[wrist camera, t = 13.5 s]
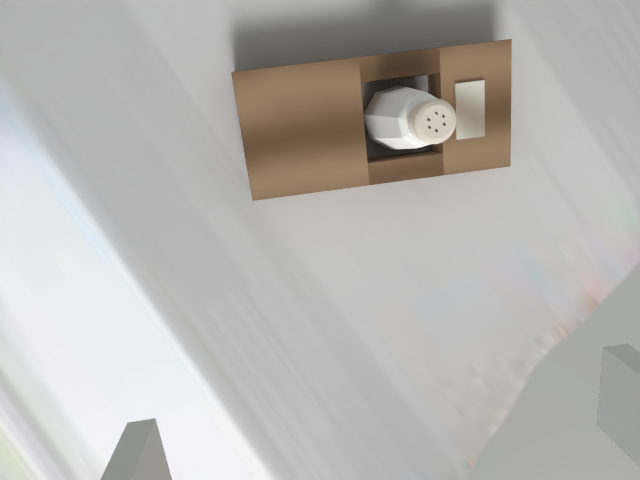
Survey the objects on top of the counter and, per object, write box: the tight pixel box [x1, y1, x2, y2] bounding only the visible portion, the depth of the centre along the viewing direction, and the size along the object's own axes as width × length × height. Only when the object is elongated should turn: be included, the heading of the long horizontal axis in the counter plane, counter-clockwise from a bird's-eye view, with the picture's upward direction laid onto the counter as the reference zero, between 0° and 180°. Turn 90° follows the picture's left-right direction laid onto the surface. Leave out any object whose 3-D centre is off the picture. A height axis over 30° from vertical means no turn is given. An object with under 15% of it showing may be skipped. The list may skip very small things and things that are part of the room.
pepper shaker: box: [363, 85, 456, 150], centre depth 34 cm, size 5×5×11 cm
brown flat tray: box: [231, 39, 511, 201], centre depth 37 cm, size 10×22×3 cm, turn 97°
